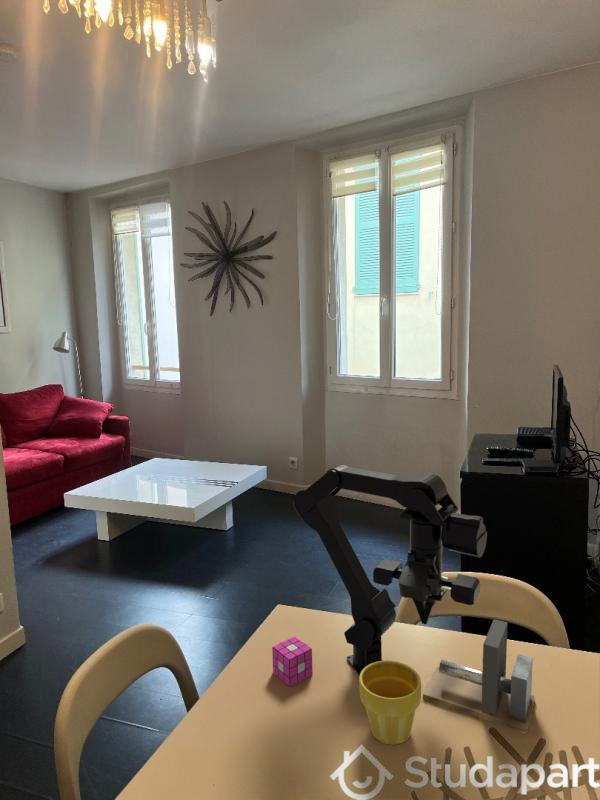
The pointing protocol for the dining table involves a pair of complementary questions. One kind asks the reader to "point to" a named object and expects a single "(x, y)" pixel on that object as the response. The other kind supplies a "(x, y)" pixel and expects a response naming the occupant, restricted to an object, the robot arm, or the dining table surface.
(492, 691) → the grey flat slab
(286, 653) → the puzzle toy
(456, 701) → the clear base plate
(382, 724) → the yellow cup
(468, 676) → the metal rod with plate
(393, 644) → the dining table surface
